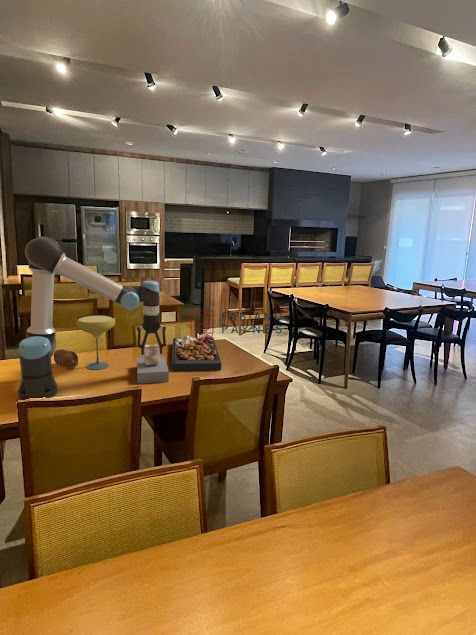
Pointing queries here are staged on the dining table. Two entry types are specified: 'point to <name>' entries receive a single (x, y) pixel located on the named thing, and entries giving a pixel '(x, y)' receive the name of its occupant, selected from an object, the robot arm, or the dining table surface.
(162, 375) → the slate block
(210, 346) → the food platter
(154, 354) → the cream block
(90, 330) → the cocktail glass
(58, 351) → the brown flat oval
